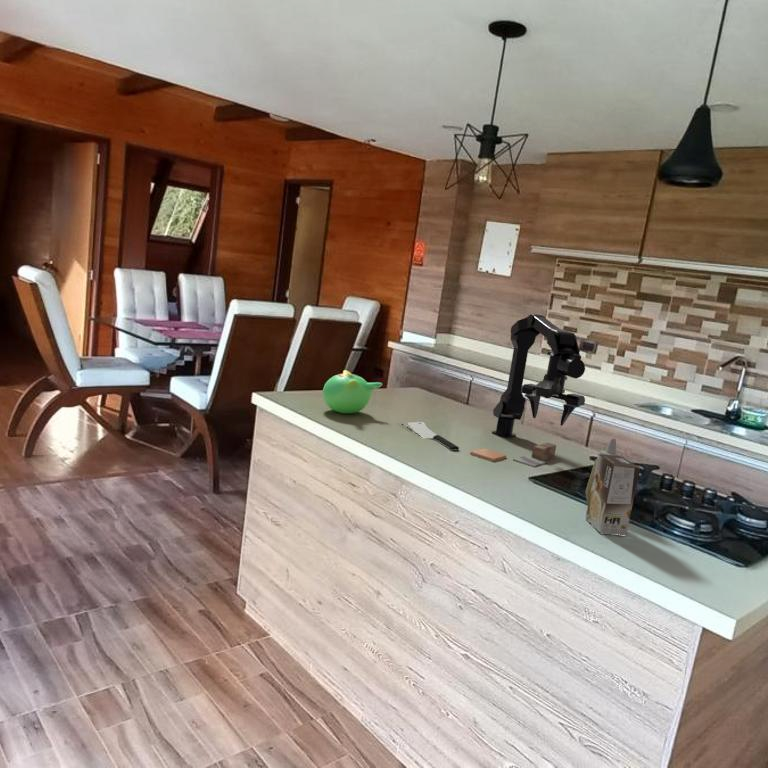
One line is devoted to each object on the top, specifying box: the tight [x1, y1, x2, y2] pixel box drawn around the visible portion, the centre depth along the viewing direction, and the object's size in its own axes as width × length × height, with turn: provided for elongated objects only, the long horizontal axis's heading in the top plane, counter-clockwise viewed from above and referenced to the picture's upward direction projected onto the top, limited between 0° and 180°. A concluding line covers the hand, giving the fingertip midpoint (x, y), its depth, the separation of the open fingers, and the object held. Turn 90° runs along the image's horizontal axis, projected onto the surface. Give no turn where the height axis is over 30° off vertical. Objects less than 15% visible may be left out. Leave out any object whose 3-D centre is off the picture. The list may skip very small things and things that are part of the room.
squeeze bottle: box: [585, 437, 621, 504], centre depth 156 cm, size 8×8×18 cm
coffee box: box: [585, 453, 641, 536], centre depth 143 cm, size 9×6×16 cm
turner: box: [512, 442, 557, 468], centre depth 196 cm, size 18×7×4 cm, turn 140°
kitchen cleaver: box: [407, 421, 460, 452], centre depth 206 cm, size 31×2×10 cm
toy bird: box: [322, 369, 383, 415], centre depth 222 cm, size 18×17×15 cm
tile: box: [469, 447, 507, 463], centre depth 192 cm, size 1×8×8 cm
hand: (547, 421), depth 196 cm, fingers open, 9 cm apart
